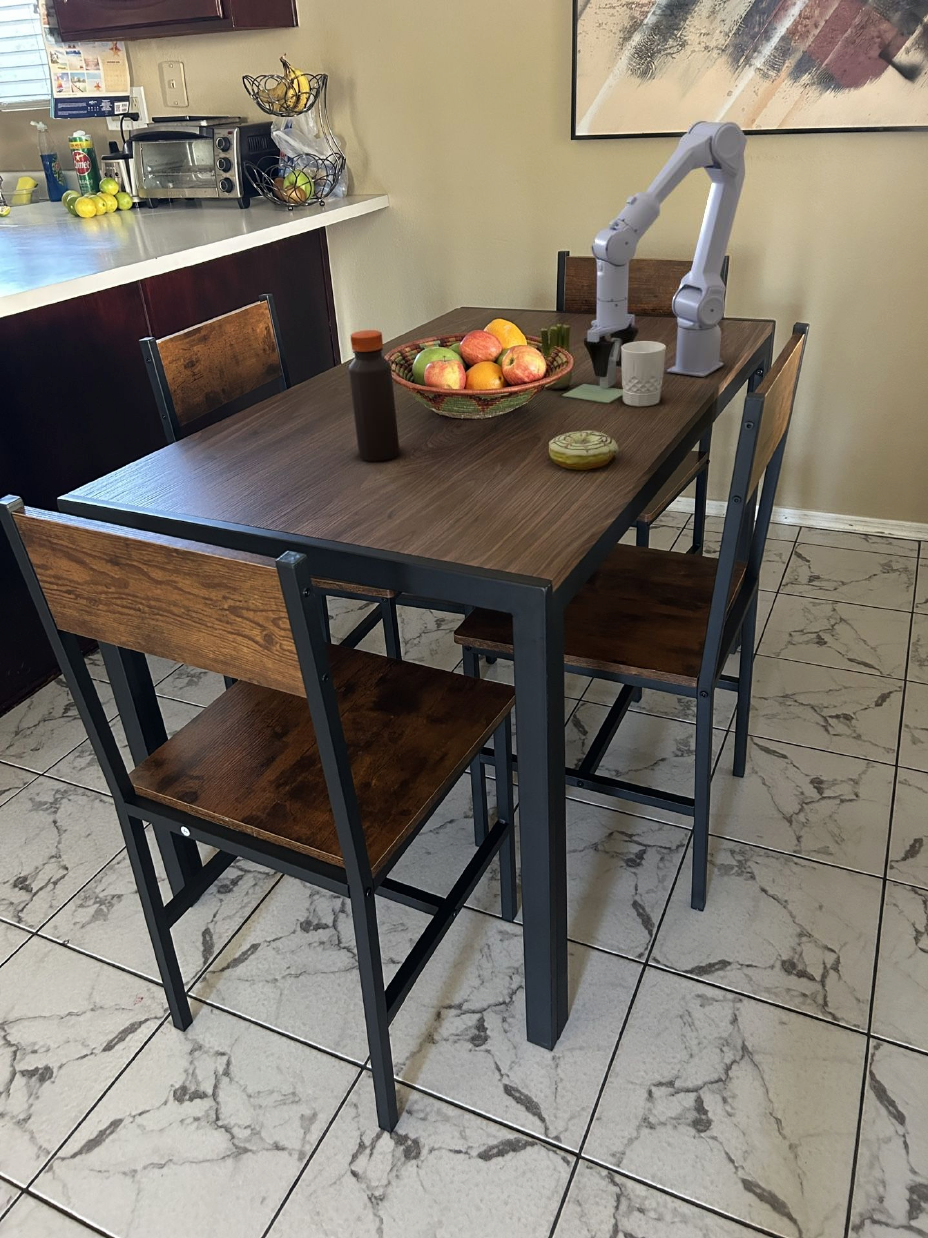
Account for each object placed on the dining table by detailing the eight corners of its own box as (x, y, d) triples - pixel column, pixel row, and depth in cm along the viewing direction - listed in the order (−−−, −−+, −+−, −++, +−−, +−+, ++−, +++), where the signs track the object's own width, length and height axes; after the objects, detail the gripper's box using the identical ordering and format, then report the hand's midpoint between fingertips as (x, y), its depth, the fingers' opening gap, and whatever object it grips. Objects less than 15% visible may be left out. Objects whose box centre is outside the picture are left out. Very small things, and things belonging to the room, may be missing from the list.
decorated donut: (629, 456, 148) (630, 434, 146) (589, 478, 142) (590, 454, 140) (577, 444, 155) (577, 422, 153) (536, 463, 148) (535, 440, 146)
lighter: (607, 388, 178) (608, 345, 174) (599, 387, 179) (599, 345, 175) (621, 377, 183) (622, 336, 179) (613, 377, 184) (614, 336, 180)
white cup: (661, 393, 175) (664, 340, 170) (664, 407, 168) (667, 351, 163) (618, 395, 176) (620, 341, 171) (620, 408, 169) (622, 353, 164)
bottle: (382, 445, 160) (369, 326, 150) (408, 453, 156) (396, 331, 145) (351, 456, 156) (335, 335, 146) (376, 465, 152) (362, 341, 141)
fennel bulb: (540, 391, 181) (539, 328, 175) (543, 384, 185) (542, 322, 179) (570, 391, 180) (570, 328, 174) (572, 383, 184) (572, 321, 178)
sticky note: (583, 384, 183) (583, 383, 183) (629, 391, 177) (629, 390, 177) (562, 395, 178) (562, 394, 177) (608, 403, 172) (608, 402, 172)
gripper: (612, 288, 180) (611, 359, 187) (573, 304, 171) (573, 378, 177) (645, 291, 176) (642, 363, 183) (607, 307, 167) (605, 382, 174)
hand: (610, 370), depth 180 cm, fingers open, 7 cm apart
